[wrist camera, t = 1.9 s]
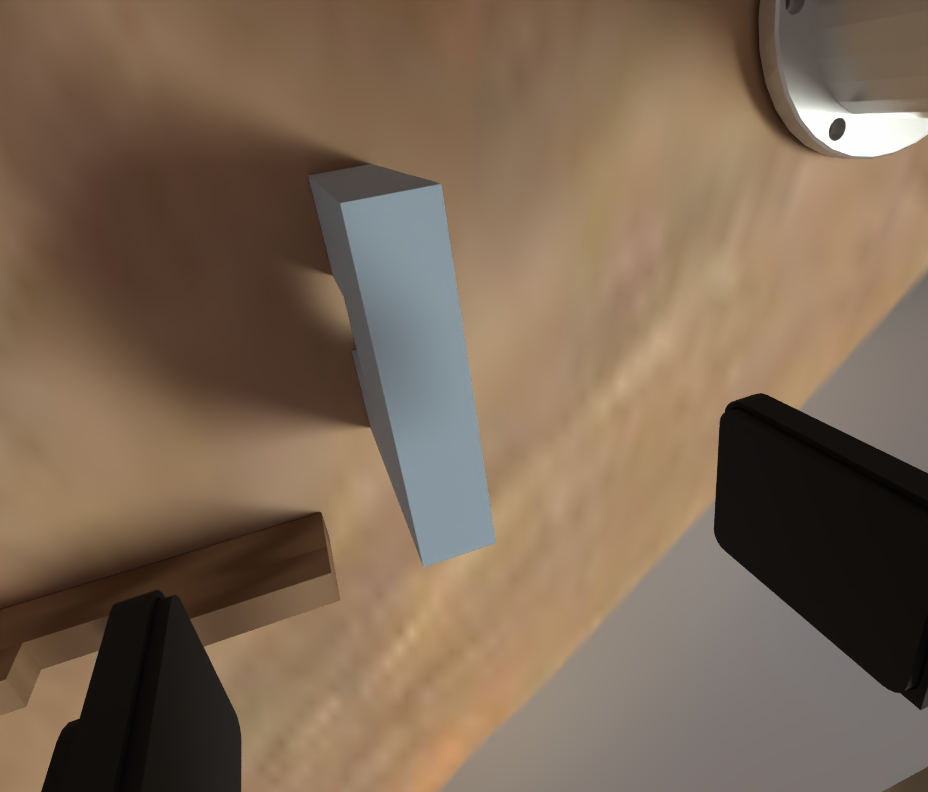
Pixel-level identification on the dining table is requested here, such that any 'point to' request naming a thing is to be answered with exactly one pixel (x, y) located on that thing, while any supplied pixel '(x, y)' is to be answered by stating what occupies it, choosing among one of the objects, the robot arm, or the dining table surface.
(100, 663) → the robot arm
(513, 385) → the dining table surface
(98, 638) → the walnut board
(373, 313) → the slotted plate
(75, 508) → the dining table surface
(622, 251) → the dining table surface
